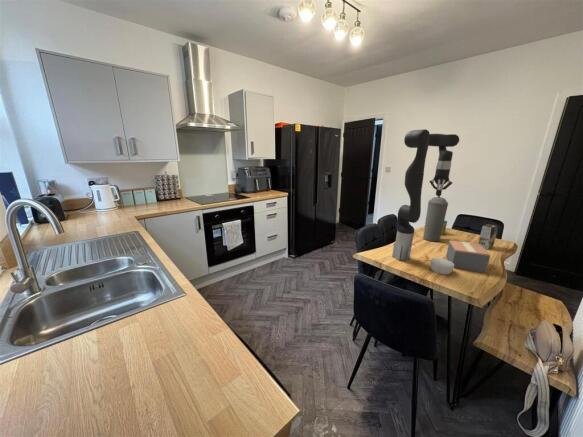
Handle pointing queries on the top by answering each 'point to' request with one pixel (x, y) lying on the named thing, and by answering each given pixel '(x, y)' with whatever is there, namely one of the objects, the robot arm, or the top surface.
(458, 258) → the box
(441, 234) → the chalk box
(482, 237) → the coffee box
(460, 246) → the lid
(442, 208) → the canister
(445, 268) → the ramekin
